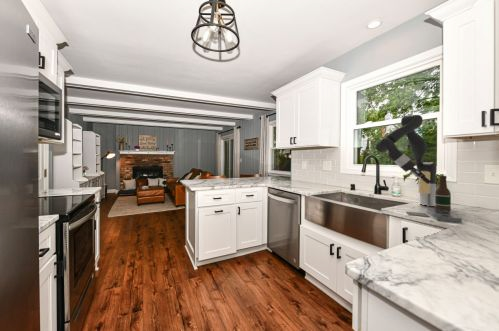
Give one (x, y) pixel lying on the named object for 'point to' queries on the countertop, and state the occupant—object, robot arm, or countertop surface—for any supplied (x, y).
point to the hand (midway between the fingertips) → (428, 182)
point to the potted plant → (443, 195)
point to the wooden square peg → (424, 183)
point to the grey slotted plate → (443, 215)
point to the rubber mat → (417, 214)
